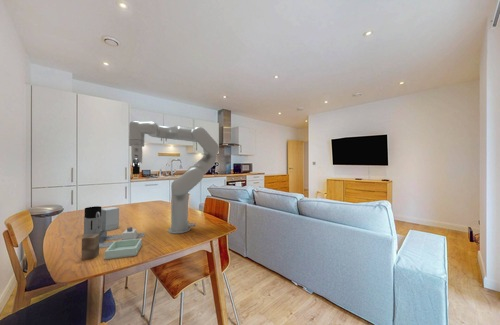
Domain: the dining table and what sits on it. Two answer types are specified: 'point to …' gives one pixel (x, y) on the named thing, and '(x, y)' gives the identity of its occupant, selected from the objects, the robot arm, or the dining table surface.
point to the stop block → (90, 246)
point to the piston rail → (111, 238)
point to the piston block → (129, 234)
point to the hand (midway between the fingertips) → (136, 173)
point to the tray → (123, 248)
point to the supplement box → (110, 218)
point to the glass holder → (92, 220)
